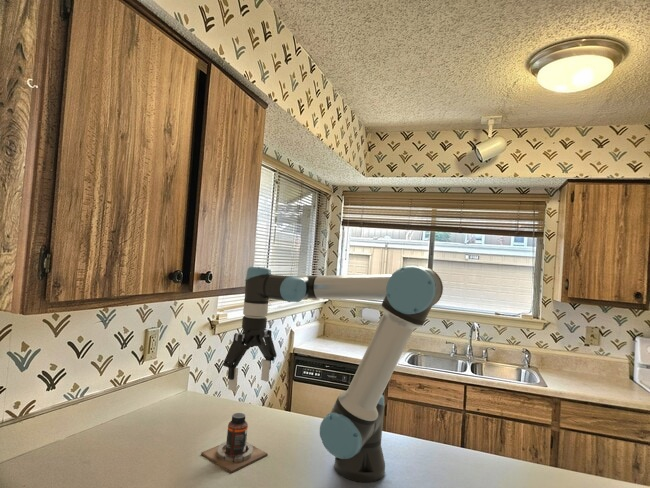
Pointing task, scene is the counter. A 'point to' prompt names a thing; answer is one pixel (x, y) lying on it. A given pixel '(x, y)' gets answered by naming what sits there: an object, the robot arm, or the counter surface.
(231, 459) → the collar
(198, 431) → the counter surface
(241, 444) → the supplement bottle
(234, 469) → the seat board
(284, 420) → the counter surface
